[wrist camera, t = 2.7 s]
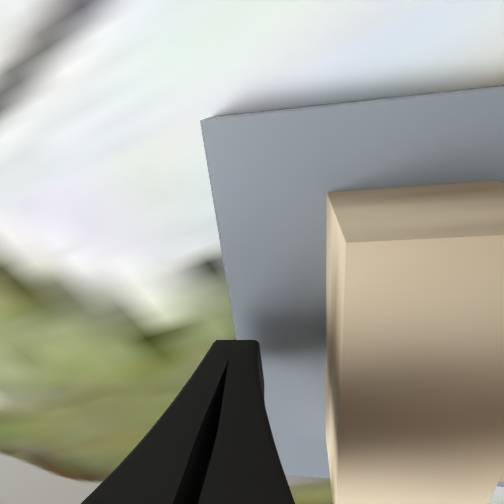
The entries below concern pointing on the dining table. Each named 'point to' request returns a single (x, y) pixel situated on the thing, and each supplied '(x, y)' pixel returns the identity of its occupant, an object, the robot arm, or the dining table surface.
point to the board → (323, 223)
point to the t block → (415, 344)
